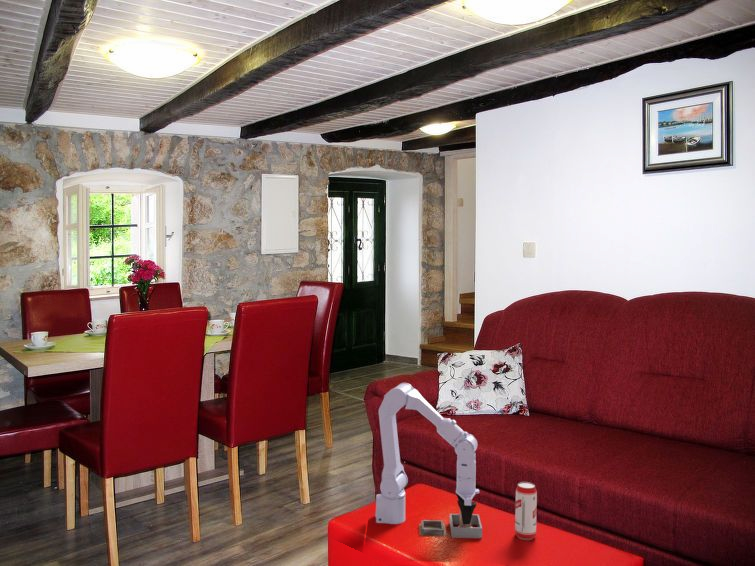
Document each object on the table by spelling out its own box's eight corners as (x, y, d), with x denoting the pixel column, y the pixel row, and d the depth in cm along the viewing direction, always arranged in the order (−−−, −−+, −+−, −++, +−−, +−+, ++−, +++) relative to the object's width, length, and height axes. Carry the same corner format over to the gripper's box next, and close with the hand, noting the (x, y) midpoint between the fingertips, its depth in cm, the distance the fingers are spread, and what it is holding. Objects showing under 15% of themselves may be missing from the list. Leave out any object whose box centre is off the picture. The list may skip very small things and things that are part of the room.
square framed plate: (419, 538, 201) (419, 530, 200) (419, 526, 209) (419, 519, 208) (446, 539, 200) (446, 530, 200) (444, 527, 208) (445, 519, 208)
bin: (451, 540, 199) (451, 527, 199) (449, 526, 209) (449, 513, 209) (482, 541, 199) (482, 528, 198) (478, 527, 209) (478, 514, 208)
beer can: (534, 532, 205) (535, 481, 204) (537, 541, 199) (538, 489, 198) (513, 531, 206) (514, 480, 204) (516, 540, 199) (516, 488, 198)
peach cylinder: (473, 535, 202) (473, 509, 201) (458, 534, 202) (459, 509, 201) (471, 529, 206) (472, 503, 205) (457, 528, 206) (458, 503, 206)
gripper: (482, 484, 195) (481, 530, 196) (476, 468, 210) (476, 510, 211) (457, 484, 196) (457, 529, 197) (454, 467, 210) (453, 509, 211)
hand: (465, 519), depth 204 cm, fingers open, 6 cm apart
